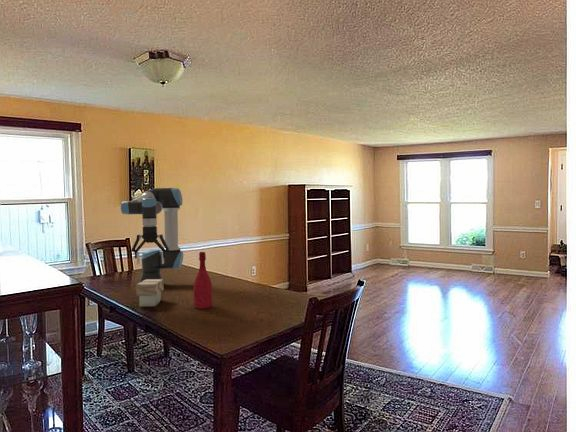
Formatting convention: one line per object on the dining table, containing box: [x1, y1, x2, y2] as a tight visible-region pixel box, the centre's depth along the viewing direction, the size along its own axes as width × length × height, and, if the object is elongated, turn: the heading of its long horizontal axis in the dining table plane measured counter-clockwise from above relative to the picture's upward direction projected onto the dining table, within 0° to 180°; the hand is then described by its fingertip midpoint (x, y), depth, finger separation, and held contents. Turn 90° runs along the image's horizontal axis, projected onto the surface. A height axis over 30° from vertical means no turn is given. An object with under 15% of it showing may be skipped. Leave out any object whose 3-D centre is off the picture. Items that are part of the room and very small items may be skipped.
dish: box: [138, 291, 162, 307], centre depth 238 cm, size 13×8×6 cm, turn 4°
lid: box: [135, 278, 165, 297], centre depth 238 cm, size 15×10×6 cm, turn 178°
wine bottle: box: [193, 251, 213, 310], centre depth 229 cm, size 10×10×30 cm
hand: (150, 263), depth 238 cm, fingers open, 13 cm apart
